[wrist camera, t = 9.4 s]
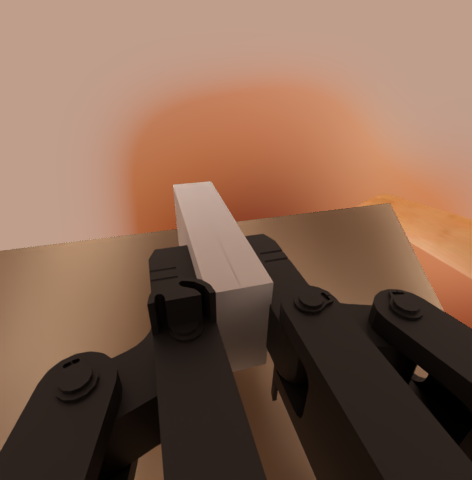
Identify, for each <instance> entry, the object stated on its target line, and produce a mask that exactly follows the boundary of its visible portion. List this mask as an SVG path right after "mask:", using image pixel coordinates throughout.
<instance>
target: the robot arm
mask: <svg viewBox="0 0 472 480" xmlns="http://www.w3.org/2000/svg"><path fill="white" fill-rule="evenodd" d="M173 190H174V200H175V210H176V220H177V231H178V241H179V246H177V247H170V248H162V249H155V250H154V251H153V253H152V255H151V256H150V258H149V260H148V261H149V274H150V286H151V294H150V295H149V298H148V302H147V307H148V312H149V318H150V323H151V329H150V332H149V333H148V334H147V336H146V337H145V338H144V339H143V340H142V341H141V342H140V343H139V344H138V345H136V346H135V347H133V348H131V349H129V350H128V351H126V352H124V353H122V354H120V355H117V356H115V357H113V358H110V357H109V356H107V355H106V354H104V353H100V352H93V351H89V352H83V353H77V354H74V355H72V356H70V357H68V358H66V359H63V360H61V361H60V362H59V363H57V364H56V365H55V366H53V367H52V368H51V369H49V370H48V371H47V372H46V374H45V375H44V376H43V378H42V379H41V380H40V381H39V383H38V384H37V386H36V388H35V390H34V391H33V393H32V395H31V397H30V399H29V400H28V402H27V404H26V406H25V408H24V409H23V411H22V413H21V415H20V417H19V418H18V420H17V422H16V424H15V426H14V427H13V429H12V431H11V433H10V435H9V436H8V438H7V440H6V442H5V444H4V446H3V447H2V449H1V451H0V480H134V478H135V473H136V469H137V464H138V459H139V458H140V457H141V456H143V455H144V454H146V453H147V452H149V451H150V450H152V449H153V448H155V447H156V446H158V445H159V444H161V450H162V463H163V476H164V480H267V478H266V475H265V472H264V469H263V466H262V463H261V460H260V456H259V453H258V450H257V447H256V444H255V441H254V438H253V435H252V431H251V428H250V425H249V422H248V419H247V416H246V413H245V409H244V406H243V403H242V400H241V397H240V394H239V391H238V387H237V384H236V381H235V378H234V375H233V372H234V371H239V370H243V369H247V368H251V367H255V366H259V365H263V364H266V360H267V350H268V352H269V354H270V356H271V359H272V361H273V363H274V370H273V379H272V388H271V395H272V401H276V400H277V394H278V391H279V394H280V396H281V398H282V401H283V403H284V405H285V408H286V410H287V412H288V415H289V417H290V419H291V422H292V424H293V426H294V429H295V431H296V433H297V435H298V438H299V440H300V442H301V445H302V447H303V449H304V452H305V454H306V456H307V459H308V461H309V463H310V466H311V468H312V470H313V473H314V475H315V477H316V480H472V329H471V328H470V327H468V326H466V325H465V324H463V323H462V322H460V321H458V320H457V319H455V318H454V317H452V316H450V315H449V314H447V313H446V312H444V311H442V310H441V309H439V308H438V307H436V306H434V305H433V304H431V303H430V302H428V301H426V300H425V299H423V298H421V297H419V296H417V295H415V294H413V293H411V292H407V291H403V290H398V289H387V290H383V291H380V292H379V293H377V294H376V295H375V297H374V300H373V303H372V305H360V304H345V303H340V302H339V301H338V300H337V299H336V298H335V297H334V296H333V295H332V294H331V293H329V292H328V291H326V290H324V289H322V288H319V287H315V286H310V285H309V284H308V283H307V282H306V280H305V279H304V278H303V276H302V275H301V274H300V273H299V271H298V270H297V269H296V267H295V266H294V265H293V263H292V262H291V261H290V259H288V257H287V256H286V254H285V253H284V252H282V249H281V248H280V246H279V245H278V244H277V242H276V241H275V240H273V239H272V238H270V237H268V236H266V235H265V234H257V235H250V236H244V234H243V232H242V231H241V229H240V228H239V226H238V224H237V223H236V221H235V220H234V218H233V216H232V215H231V213H230V211H229V210H228V208H227V207H226V205H225V203H224V202H223V200H222V198H221V197H220V195H219V194H218V192H217V191H216V189H215V187H214V186H213V184H212V182H199V183H187V184H177V185H173ZM417 366H419V367H421V368H422V369H423V370H424V371H425V372H427V373H428V376H427V378H423V377H419V376H418V375H416V374H415V373H414V372H415V370H416V368H417Z"/></svg>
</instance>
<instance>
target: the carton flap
mask: <svg viewBox="0 0 472 480" xmlns="http://www.w3.org/2000/svg"><path fill="white" fill-rule="evenodd" d="M236 223H237V224H238V226H239V228H240V229H241V231H242V232H243V234H244V236H250V235H257V234H265V235H266V236H268V237H270V238H272V239H273V240H275V241H276V242H277V244H278V245H279V246H280V248H281V249H282V252H284V253H285V254H286V256H287V257H288V259H290V261H291V262H292V263H293V265H294V266H295V267H296V269H297V270H298V271H299V273H300V274H301V275H302V276H303V278H304V279H305V280H306V282H307V283H308V284H309V285H310V286H315V287H319V288H322V289H324V290H326V291H328V292H329V293H331V294H332V295H333V296H334V297H335V298H336V299H337V300H338V301H339V302H340V303H345V304H360V305H372V303H373V300H374V297H375V295H376V294H377V293H379V292H380V291H383V290H387V289H398V290H403V291H407V292H411V293H413V294H415V295H417V296H419V297H421V298H423V299H425V300H426V301H428V302H430V303H431V304H433V305H434V306H436V307H438V308H439V309H441V310H442V311H444V310H443V308H442V306H441V304H440V302H439V300H438V298H437V296H436V294H435V292H434V290H433V288H432V286H431V284H430V282H429V280H428V278H427V276H426V274H425V272H424V270H423V268H422V266H421V264H420V262H419V260H418V258H417V256H416V254H415V252H414V250H413V248H412V246H411V244H410V242H409V240H408V238H407V236H406V234H405V232H404V230H403V228H402V226H401V224H400V222H399V220H398V218H397V216H396V214H395V212H394V210H393V208H392V206H391V204H390V203H386V204H378V205H370V206H362V207H354V208H346V209H338V210H329V211H321V212H313V213H306V214H297V215H289V216H281V217H273V218H264V219H256V220H249V221H240V222H236ZM177 246H179V241H178V231H177V229H175V230H167V231H158V232H151V233H143V234H134V235H126V236H118V237H110V238H102V239H93V240H85V241H77V242H69V243H61V244H53V245H44V246H37V247H28V248H21V249H12V250H4V251H0V451H1V449H2V447H3V446H4V444H5V442H6V440H7V438H8V436H9V435H10V433H11V431H12V429H13V427H14V426H15V424H16V422H17V420H18V418H19V417H20V415H21V413H22V411H23V409H24V408H25V406H26V404H27V402H28V400H29V399H30V397H31V395H32V393H33V391H34V390H35V388H36V386H37V384H38V383H39V381H40V380H41V379H42V378H43V376H44V375H45V374H46V372H47V371H48V370H49V369H51V368H52V367H53V366H55V365H56V364H57V363H59V362H60V361H61V360H63V359H66V358H68V357H70V356H72V355H74V354H77V353H83V352H89V351H93V352H100V353H104V354H106V355H107V356H109V357H110V358H113V357H115V356H117V355H120V354H122V353H124V352H126V351H128V350H129V349H131V348H133V347H135V346H136V345H138V344H139V343H140V342H141V341H142V340H143V339H144V338H145V337H146V336H147V334H148V333H149V332H150V329H151V323H150V318H149V312H148V307H147V302H148V298H149V295H150V294H151V286H150V274H149V261H148V260H149V258H150V256H151V255H152V253H153V251H154V250H155V249H162V248H170V247H177ZM273 370H274V363H273V361H272V359H271V356H270V354H269V352H268V350H267V360H266V364H263V365H259V366H255V367H251V368H247V369H243V370H239V371H234V372H233V375H234V378H235V381H236V384H237V387H238V391H239V394H240V397H241V400H242V403H243V406H244V409H245V413H246V416H247V419H248V422H249V425H250V428H251V431H252V435H253V438H254V441H255V444H256V447H257V450H258V453H259V456H260V460H261V463H262V466H263V469H264V472H265V475H266V478H267V480H316V477H315V475H314V473H313V470H312V468H311V466H310V463H309V461H308V459H307V456H306V454H305V452H304V449H303V447H302V445H301V442H300V440H299V438H298V435H297V433H296V431H295V429H294V426H293V424H292V422H291V419H290V417H289V415H288V412H287V410H286V408H285V405H284V403H283V401H282V398H281V396H280V394H279V391H278V394H277V400H276V401H272V395H271V388H272V379H273ZM414 373H415V374H416V375H418V376H419V377H423V378H427V376H428V373H427V372H425V371H424V370H423V369H422V368H421V367H419V366H417V368H416V370H415V372H414ZM134 480H164V476H163V463H162V450H161V444H159V445H158V446H156V447H155V448H153V449H152V450H150V451H149V452H147V453H146V454H144V455H143V456H141V457H140V458H139V459H138V464H137V469H136V473H135V478H134Z"/></svg>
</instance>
